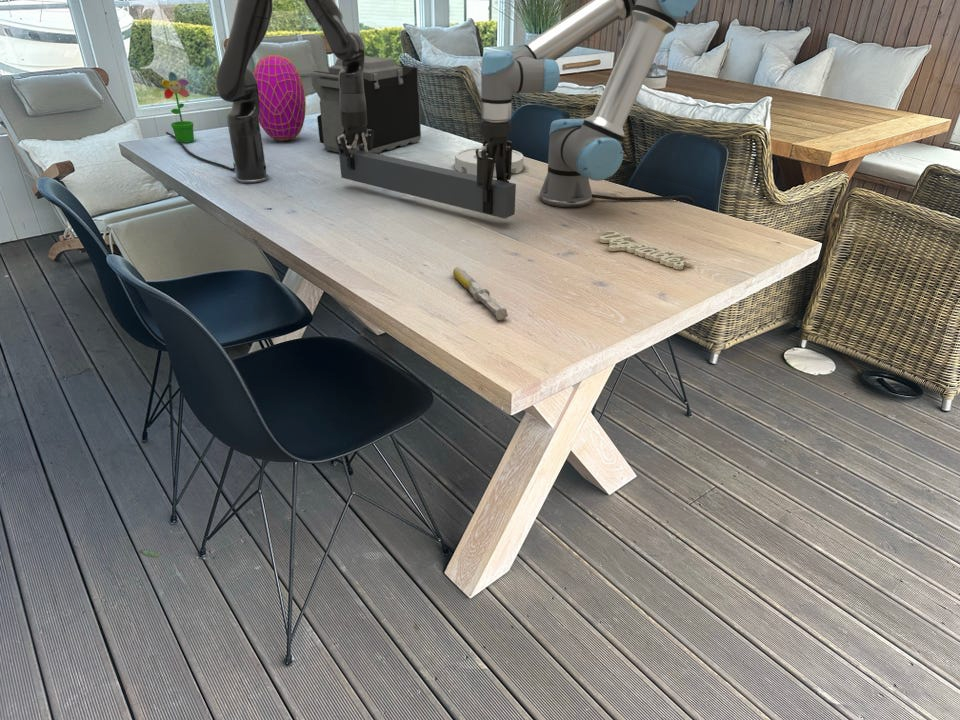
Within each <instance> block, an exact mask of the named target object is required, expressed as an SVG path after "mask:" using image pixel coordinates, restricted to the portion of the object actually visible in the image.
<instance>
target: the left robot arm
mask: <svg viewBox="0 0 960 720" xmlns="http://www.w3.org/2000/svg"><path fill="white" fill-rule="evenodd" d="M273 1H274V0H237V2H236V6H235V11H234V14H233V19H232V24H231V28H230V31H229V35H228V40H227V44H226V47H225V50H224V53H223V56H222V59H221V61H220V64H219V67H218V69H217V72H216V75H215V82H214V83H215V89H216V92H217V95H218V96H219V98H221V99H222V100H223V101H225V102H226V103H227V102H228V103H232V106H231V108H230V110H229V111H228V112H227V114H226V122H227V127H228V133H229V140H230V146H231V152H232V157H233V161H232V164H233V167H229V166H227V165H225V164H223V163H220V162H216V161H212V160H209V159H206V158H203V157H200V156H199V155H197V154H195V153H193V152H191V150H189V149H188V148H187V147H186V146H185V145H184V143H182V142H181V141H178V142H177V143H179V145H180V146H181V147H182V148H183V149H184V151H186V153H188V154H189V155H190V156H192V157H194V158H196V159H198V160H200V161H202V162H206V163H207V164H211V165H214V166H218V167H222V168H224V169H226V170H228V171H233V172H234V171H235V174H236V181H237V183H238V182H239V183H242V184H255V183H256V184H257V183H262V182H265V181H267V180H268V174H267V173H268V172H267V164H266V158H265V152H264V146H263V139H262V138H263V137H262V132H261V125H260V123H259V114H260V104H259V94H258V86H257V81H256V78H255V76H254V74H253V72H254V71H252V70H251V69H250V68H249V67H248V65H249V62H250V60H251V59H252V57H253V55H254V53H255V52H256V50H257V49H258V48H259V46H260V45H261V43H262V42H263V40H264V39H265V36H266V34H267V32H268V29H269V26H270V22H271V18H272V15H273V9H274V2H273ZM303 1H304V3H305V6H306V7H307V9H308V12H310V14H311V15H312V17H313V18H314V20H315V22H316V23H317V24H318V26H319V27H320V29H321V31H322V33H323V36H324V38H325V40H326V43H327V45H328V47H329V49H330V51H331V52H332V54H333V55H334V56H335V58H337V59H340V60H341V61H342V69H341V71H340V72H339V76H338V80H339V92H340V98H339V102H340V113H341V124H342V126H343V128H344V130H343V134H342V135H341V136H336V142H337V145H338V148H339V151H340V155H342V156H346V158H347V167H348V169H349V170H355V163H354V157H353V156H354V150H355V149H356V145H357V146H358V147H359V150H362V151H366V152H369V151H370V150H372V147H373V139H374V130H370V129H367V128H366V125H367V111H366V99H365V94H364V81H363V70H364V60H365V56H366V49H365V43H364V41H363V38H362V37H361V35H360V34H359V33H357V32H355V31H348V29H347V28H346V26H345V24H344V22H343V20H344V15H343V14H342V11H341V10H340V8H339V7H338V5H337V3H336V2H335V1H334V0H303ZM165 134H166V135H168V136H170V137H172V138H174V139H175V140H176V137H175V134H173V133H171V132H169V131H166V132H165ZM345 139H346V140H345ZM368 142H369V146H368ZM349 144H350V145H352V146H350V145H349ZM349 151H350V153H349Z"/></svg>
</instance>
